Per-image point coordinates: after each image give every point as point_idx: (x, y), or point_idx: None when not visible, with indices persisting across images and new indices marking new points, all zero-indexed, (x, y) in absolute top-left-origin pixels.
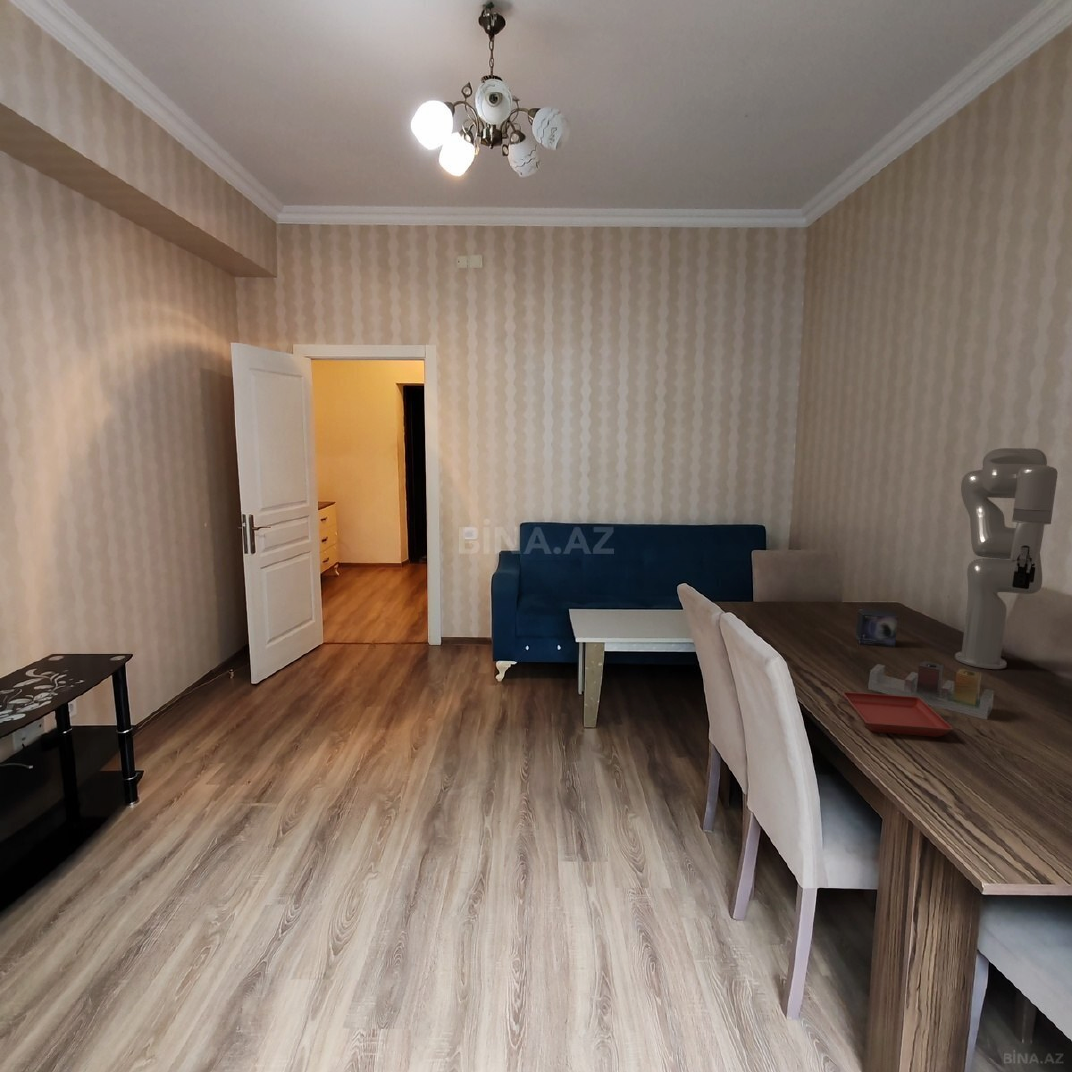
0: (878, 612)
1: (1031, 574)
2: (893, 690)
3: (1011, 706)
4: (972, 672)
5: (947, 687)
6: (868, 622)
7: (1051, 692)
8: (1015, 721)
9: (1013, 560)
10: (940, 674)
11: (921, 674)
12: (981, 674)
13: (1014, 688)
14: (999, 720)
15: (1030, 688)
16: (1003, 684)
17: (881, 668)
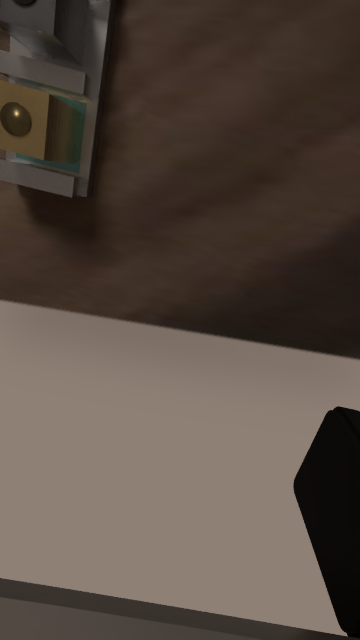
0: None
1: (322, 539)
2: None
3: (138, 239)
4: (22, 130)
5: (12, 68)
6: None
7: (279, 327)
8: (47, 234)
9: (101, 596)
10: (23, 32)
11: None
12: (41, 159)
13: (270, 261)
14: (30, 203)
15: (287, 293)
16: (290, 241)
17: None
